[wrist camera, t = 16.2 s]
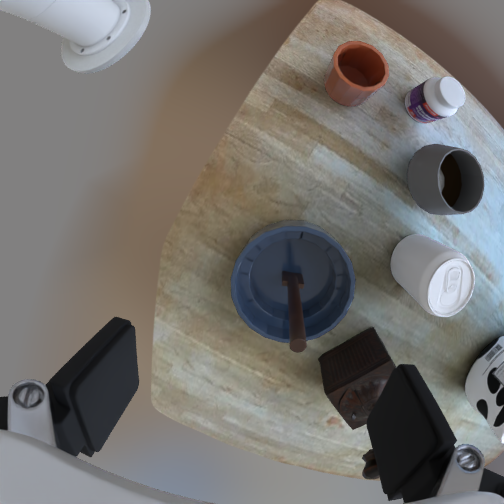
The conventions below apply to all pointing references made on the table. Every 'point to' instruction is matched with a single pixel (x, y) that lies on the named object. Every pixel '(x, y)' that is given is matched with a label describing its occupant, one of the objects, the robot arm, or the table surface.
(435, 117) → the pill bottle
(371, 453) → the manual coffee grinder
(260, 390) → the table surface
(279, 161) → the table surface
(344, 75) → the utensil pot
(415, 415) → the robot arm
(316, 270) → the bowl
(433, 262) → the beverage can
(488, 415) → the milk container
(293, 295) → the stirring stick
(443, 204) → the cup
